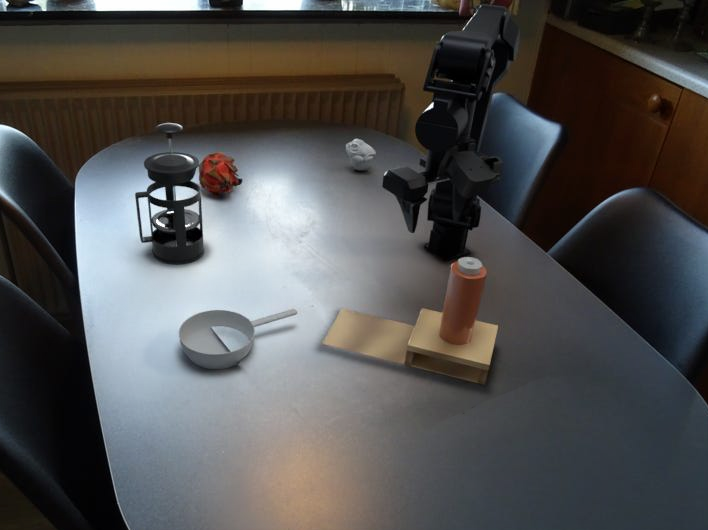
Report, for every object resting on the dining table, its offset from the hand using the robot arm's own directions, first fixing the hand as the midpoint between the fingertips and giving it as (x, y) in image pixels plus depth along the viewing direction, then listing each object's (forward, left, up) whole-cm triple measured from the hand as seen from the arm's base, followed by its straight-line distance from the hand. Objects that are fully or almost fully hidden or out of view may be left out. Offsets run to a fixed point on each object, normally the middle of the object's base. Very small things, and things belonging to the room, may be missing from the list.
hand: (434, 226), depth 106 cm
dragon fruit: (+13, -52, -13) cm, 55 cm away
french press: (+31, -32, -13) cm, 46 cm away
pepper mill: (+7, +16, -8) cm, 19 cm away
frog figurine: (-21, -49, -13) cm, 55 cm away
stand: (+12, +11, -13) cm, 20 cm away
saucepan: (+33, -2, -13) cm, 36 cm away
